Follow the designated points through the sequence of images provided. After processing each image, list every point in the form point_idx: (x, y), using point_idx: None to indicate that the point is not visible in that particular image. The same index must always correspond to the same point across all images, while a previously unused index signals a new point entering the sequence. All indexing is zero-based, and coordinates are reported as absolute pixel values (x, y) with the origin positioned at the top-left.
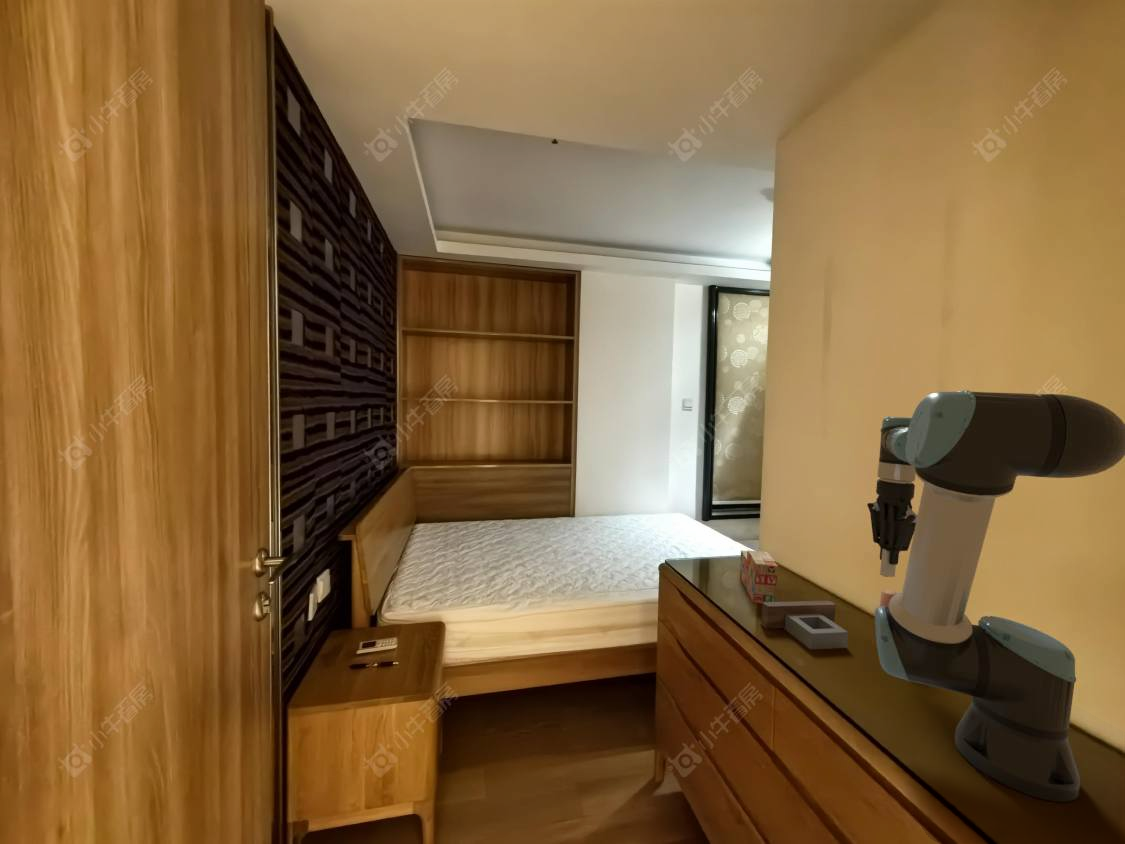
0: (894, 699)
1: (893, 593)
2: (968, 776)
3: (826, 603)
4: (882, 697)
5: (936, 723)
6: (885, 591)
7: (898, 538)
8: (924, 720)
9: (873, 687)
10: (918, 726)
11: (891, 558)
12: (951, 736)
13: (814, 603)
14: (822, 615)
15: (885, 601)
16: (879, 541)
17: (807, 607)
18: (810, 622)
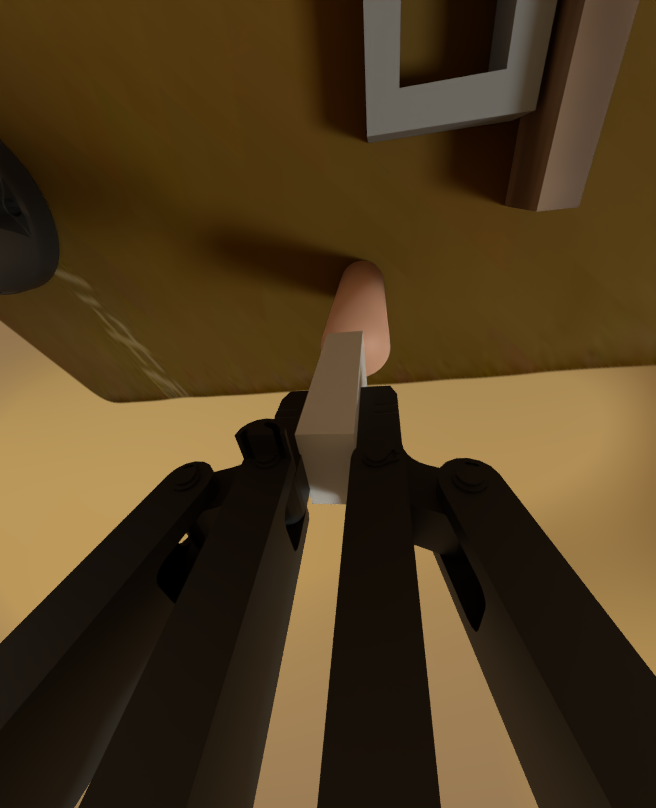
0: (110, 90)
1: None
2: None
3: (559, 165)
4: (106, 49)
5: (46, 140)
6: (370, 336)
7: (113, 593)
8: (44, 112)
9: (151, 58)
10: (6, 66)
11: (292, 415)
12: (9, 138)
13: (585, 83)
14: (512, 109)
15: (344, 305)
16: (404, 483)
17: (576, 12)
18: (506, 23)
